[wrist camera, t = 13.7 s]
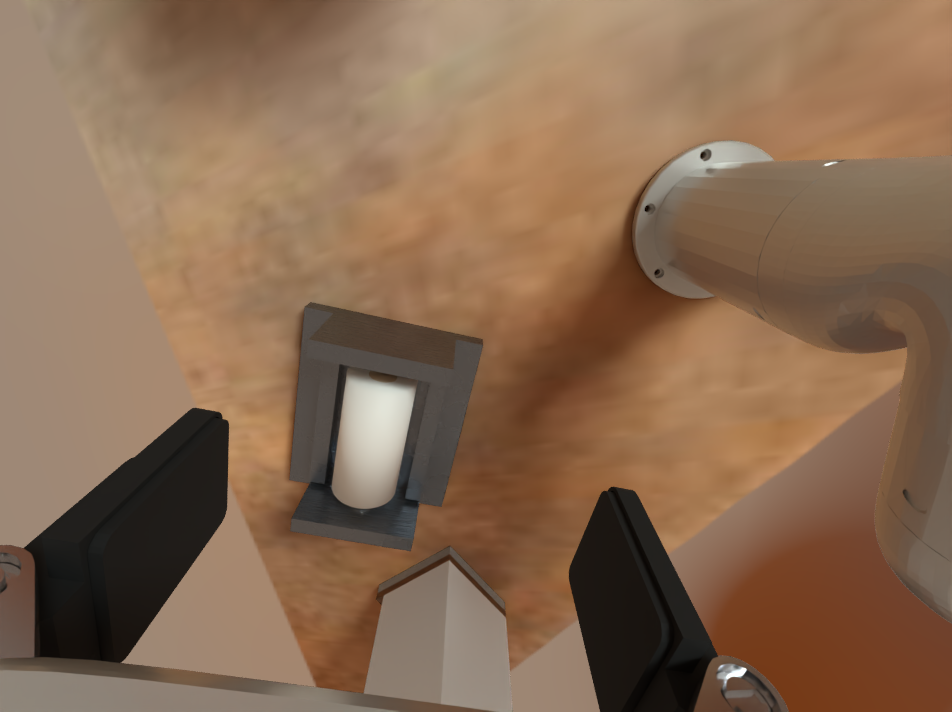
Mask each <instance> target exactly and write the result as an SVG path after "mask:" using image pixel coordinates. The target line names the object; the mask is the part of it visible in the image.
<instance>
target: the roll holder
mask: <svg viewBox="0 0 952 712" xmlns="http://www.w3.org/2000/svg"><path fill="white" fill-rule="evenodd" d="M482 347H483V339H478V338H474V337H469V336H464V335H460V334H455V333H451V332H446V331H441V330H437V329H432V328H427V327H423V326H418V325H413V324H409V323H404V322H400V321H395V320H390V319H386V318H381V317H376V316H372V315H367V314H363V313H358V312H353V311H349V310H344V309H339V308H335V307H330V306H325V305H321V304H316V303H312V302H310V303H309V304H308V305H307V306H305V310H304V321H303V333H302V344H301V355H300V367H299V378H298V389H297V400H296V412H295V423H294V434H293V446H292V457H291V468H290V480H293V481H298V482H304V483H310V484H309V486H308V488H307V490H306V492H305V493H304V495H303V497H302V499H301V501H300V503H299V505H298V507H297V509H296V511H295V513H294V515H293V517H292V519H291V530H290V531H292V532H298V533H304V534H310V535H316V536H322V537H328V538H334V539H340V540H346V541H352V542H358V543H364V544H370V545H376V546H382V547H388V548H394V549H400V550H406V551H411V547H412V543H413V539H414V532H415V526H416V520H417V513H418V507H419V503H422V504H428V505H434V506H439V507H442V503H443V499H444V495H445V491H446V487H447V483H448V480H449V476H450V472H451V468H452V464H453V460H454V456H455V452H456V448H457V445H458V441H459V437H460V433H461V429H462V425H463V421H464V417H465V413H466V410H467V406H468V402H469V398H470V394H471V390H472V386H473V382H474V378H475V375H476V371H477V367H478V363H479V359H480V355H481V351H482ZM350 366H351V367H356V368H361V369H366V370H371V371H376V372H381V373H386V374H391V375H395V376H400V377H405V378H410V379H415V380H418V383H417V388H416V393H415V398H414V403H413V408H412V412H411V417H410V422H409V427H408V432H407V437H406V442H405V447H404V452H403V457H402V462H401V466H400V471H399V476H398V481H397V486H396V491H395V494H394V496H393V498H392V499H391V500H390V501H389V502H387V503H386V504H384V505H382V506H379V507H376V508H370V509H360V508H354V507H351V506H348V505H346V504H344V503H342V502H341V501H339V500H338V499H337V498H336V497H335V495H334V494H333V491H332V480H333V472H334V465H335V457H336V450H337V442H338V435H339V428H340V420H341V413H342V405H343V398H344V390H345V383H346V376H347V370H348V368H349V367H350Z"/></svg>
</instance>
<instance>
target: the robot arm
mask: <svg viewBox="0 0 952 712" xmlns="http://www.w3.org/2000/svg"><path fill="white" fill-rule="evenodd" d="M701 152H702V153H703V157H702V158H700V154H701ZM647 205H648V206H649V209H648V211H645V207H646V206H647ZM632 241H633V248H634V253H635V256H636V258H637V261H638V263H639V266H640V267H641V269H642V270H643V272H644V273H645V275H646V276H647V277H648V278H649V279H650V280H651V281H652V282H653V283H654V284H656V285H657V286H659V287H660V288H662V289H663V290H665V291H667V292H669V293H671V294H674V295H676V296H681V297H685V298H696V299H702V298H709V297H715V296H717V297H719V298H721V299H723V300H724V301H726V302H728V303H730V304H732V305H734V306H736V307H738V308H740V309H742V310H744V311H746V312H747V313H749V314H751V315H753V316H755V317H757V318H759V319H761V320H763V321H765V322H767V323H768V324H770V325H772V326H774V327H776V328H778V329H780V330H782V331H784V332H786V333H788V334H790V335H792V336H794V337H796V338H798V339H800V340H802V341H804V342H806V343H809V344H811V345H814V346H816V347H819V348H822V349H826V350H830V351H835V352H841V353H855V354H867V353H878V352H885V351H891V350H897V349H902V348H906V347H907V359H906V365H905V371H904V375H903V380H902V384H901V388H900V394H899V396H900V402H899V406H898V410H897V414H896V418H895V422H894V426H893V430H892V435H891V438H890V442H889V447H888V451H887V455H886V459H885V463H884V467H883V471H882V476H881V481H880V485H879V490H878V494H877V501H876V507H875V529H876V535H877V540H878V543H879V546H880V549H881V551H882V553H883V555H884V558H885V559H886V561H887V563H888V565H889V566H890V567H891V569H892V570H893V571H894V573H895V574H896V575H897V577H898V578H899V579H900V580H901V582H902V583H903V584H904V585H905V586H906V587H907V588H908V589H909V590H910V591H911V592H912V593H913V594H914V595H915V596H916V597H918V598H919V599H920V600H921V601H922V602H923V603H925V604H926V605H927V606H928V607H929V608H930V609H932V610H933V611H934V612H936V613H937V614H938V615H940V616H941V617H943V618H944V619H946V620H947V621H949V622H950V623H952V155H949V156H930V157H907V158H875V159H835V160H794V161H775V160H774V159H773V158H772V157H771V156H770V155H768V154H767V153H766V152H764V151H763V150H762V149H760V148H758V147H756V146H753V145H751V144H748V143H745V142H738V141H732V140H731V141H716V142H710V143H704V144H701V145H698V146H695V147H693V148H690V149H688V150H686V151H684V152H682V153H681V154H679V155H677V156H676V157H674V158H673V159H672V160H670V161H669V162H668V163H667V164H666V165H664V166H663V167H662V168H661V169H660V170H659V171H658V172H657V174H656V175H655V176H654V177H653V178H652V179H651V181H650V182H649V184H648V185H647V187H646V189H645V190H644V192H643V194H642V195H641V198H640V200H639V203H638V205H637V208H636V211H635V215H634V220H633V226H632ZM657 269H658V272H657V273H656V274H654V272H655V270H657ZM228 443H229V423H228V421H227V420H224V419H222V415H221V413H219V412H215V411H210V410H205V409H199V408H192V409H191V410H189V411H188V412H187V413H186V414H185V415H184V416H182V417H181V418H180V419H179V420H178V421H177V422H175V423H174V424H173V425H172V426H171V427H169V428H168V429H167V430H166V431H165V432H164V433H163V434H161V435H160V436H159V437H158V438H157V439H155V440H154V441H153V442H152V443H151V444H150V445H148V446H147V447H146V448H145V449H144V450H143V451H141V452H140V453H139V454H138V455H137V456H136V457H134V458H131V459H129V460H128V461H127V462H125V463H124V464H122V465H121V466H120V467H119V468H118V469H117V470H116V471H114V472H113V473H112V474H111V475H109V476H108V477H107V478H106V479H105V480H104V481H102V482H101V483H100V484H99V485H98V486H96V487H95V488H94V489H93V490H92V491H91V492H89V493H88V494H87V495H86V496H85V497H83V498H82V499H81V500H80V501H79V502H78V503H76V504H75V505H74V506H73V507H72V508H70V509H69V510H68V511H67V512H66V513H65V514H63V515H62V516H61V517H60V518H59V519H57V520H56V521H55V522H54V523H53V524H52V525H51V526H49V527H48V528H47V529H46V530H44V531H43V532H42V533H41V534H40V535H39V536H37V537H36V538H35V539H34V540H33V541H31V542H30V543H29V544H28V545H27V546H26V547H24V548H21V547H16V546H12V545H0V712H496V711H489V710H481V709H474V708H467V707H460V706H453V705H445V704H438V703H431V702H423V701H416V700H408V699H401V698H394V697H386V696H379V695H371V694H364V693H356V692H349V691H341V690H334V689H326V688H319V687H311V686H304V685H296V684H288V683H280V682H272V681H265V680H257V679H249V678H240V677H233V676H226V675H218V674H210V673H202V672H195V671H187V670H179V669H169V668H160V667H151V666H142V665H133V664H124V663H121V662H122V661H123V660H124V659H125V658H126V657H127V656H128V655H129V653H130V652H131V650H132V649H133V647H134V646H135V645H136V643H137V642H138V640H139V639H140V637H141V636H142V635H143V633H144V632H145V630H146V629H147V628H148V626H149V625H150V623H151V622H152V621H153V619H154V618H155V616H156V615H157V614H158V612H159V611H160V609H161V608H162V606H163V605H164V604H165V602H166V601H167V599H168V598H169V596H170V595H171V594H172V592H173V591H174V589H175V588H176V587H177V585H178V584H179V582H180V581H181V580H182V578H183V577H184V575H185V574H186V573H187V571H188V570H189V568H190V567H191V565H192V564H193V563H194V561H195V560H196V558H197V557H198V556H199V554H200V553H201V551H202V550H203V548H204V547H205V545H206V544H207V543H208V541H209V540H210V539H211V537H212V536H213V534H214V533H215V531H216V530H217V528H218V527H219V526H220V524H221V523H222V521H223V519H224V517H225V514H226V510H227V487H228ZM569 581H570V586H571V590H572V594H573V598H574V603H575V607H576V611H577V615H578V620H579V624H580V628H581V632H582V637H583V641H584V645H585V649H586V654H587V658H588V662H589V666H590V671H591V675H592V679H593V683H594V687H595V692H596V696H597V700H598V704H599V709H600V712H789V711H788V709H787V706H786V704H785V702H784V700H783V699H782V697H781V696H780V694H779V693H778V691H777V690H776V689H775V688H774V686H773V685H772V684H771V683H770V682H769V681H768V680H767V679H766V678H765V677H764V676H763V675H762V674H761V673H759V672H758V671H757V670H756V669H755V668H753V667H751V666H750V665H748V664H747V663H745V662H743V661H742V660H739V659H736V658H733V657H731V656H718V655H717V653H716V651H715V649H714V647H713V645H712V642H711V640H710V638H709V636H708V634H707V632H706V630H705V628H704V626H703V624H702V622H701V620H700V618H699V616H698V614H697V612H696V610H695V608H694V606H693V604H692V602H691V600H690V598H689V596H688V594H687V593H686V590H685V588H684V586H683V584H682V582H681V581H680V578H679V577H678V574H677V572H676V571H675V569H674V567H673V565H672V563H671V561H670V559H669V557H668V555H667V553H666V551H665V549H664V547H663V545H662V543H661V541H660V539H659V537H658V535H657V533H656V531H655V529H654V527H653V525H652V523H651V521H650V519H649V517H648V515H647V513H646V511H645V509H644V507H643V505H642V503H641V501H640V499H639V497H638V495H637V494H636V492H635V491H633V490H628V489H623V488H617V487H611V488H609V490H608V491H603V492H602V493H601V495H600V497H599V499H598V502H597V504H596V506H595V509H594V511H593V513H592V516H591V518H590V520H589V523H588V525H587V527H586V530H585V532H584V535H583V537H582V539H581V542H580V544H579V546H578V549H577V551H576V553H575V556H574V558H573V560H572V563H571V565H570V569H569Z"/></svg>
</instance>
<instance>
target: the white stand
mask: <svg viewBox="0 0 952 712" xmlns="http://www.w3.org/2000/svg"><path fill="white" fill-rule="evenodd" d="M376 600H377V601H378V602H379V603H380V604H381V605H382V607H381V611H380V616H379V621H378V626H377V631H376V636H375V640H374V645H373V650H372V655H371V660H370V665H369V670H368V674H367V679H366V684H365V689H364V694H371V695H379V696H386V697H394V698H401V699H408V700H416V701H423V702H431V703H438V704H445V705H453V706H460V707H467V708H474V709H481V710H489V711H496V712H513V707H512V693H511V680H510V666H509V653H508V640H507V627H506V613H505V602H504V601H503V600H502V599H501V598H500V597H499V596H498V595H497V594H496V593H495V592H494V591H493V590H492V589H491V588H490V587H489V586H488V585H487V584H486V583H485V582H484V581H483V579H482V578H481V577H480V576H479V575H478V574H477V573H476V572H475V571H474V570H473V569H472V568H471V567H470V566H469V565H468V564H467V563H466V562H465V561H464V560H463V559H462V558H461V557H460V556H459V555H458V554H457V553H456V552H455V551H454V549H453V548H452V547H451V546H449V547H447V548H445V549H444V550H442V551H440V552H438V553H436V554H434V555H433V556H431V557H429V558H427V559H425V560H423V561H422V562H420V563H418V564H416V565H414V566H413V567H411V568H409V569H407V570H405V571H403V572H402V573H400V574H398V575H396V576H394V577H392V578H391V579H389V580H387V581H385V582H383V583H382V584H380V585H379V589H378V593H377V598H376Z"/></svg>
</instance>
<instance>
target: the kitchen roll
mask: <svg viewBox="0 0 952 712" xmlns="http://www.w3.org/2000/svg"><path fill="white" fill-rule="evenodd" d="M417 383H418V380H415V379H410V378H405V377H400V376H395V375H391V374H386V373H381V372H376V371H371V370H366V369H361V368H356V367H351V366H350V367H349V368H348V370H347V376H346V383H345V390H344V398H343V405H342V413H341V420H340V428H339V435H338V442H337V450H336V457H335V465H334V472H333V480H332V491H333V494H334V495H335V497H336V498H337V499H338V500H339V501H341V502H342V503H344V504H346V505H348V506H351V507H354V508H360V509H370V508H376V507H379V506H382V505H384V504H386V503H387V502H389V501H390V500H391V499H392V498H393V496H394V494H395V491H396V486H397V481H398V476H399V471H400V466H401V462H402V457H403V452H404V447H405V442H406V437H407V432H408V427H409V422H410V417H411V412H412V408H413V403H414V398H415V393H416V388H417Z"/></svg>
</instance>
